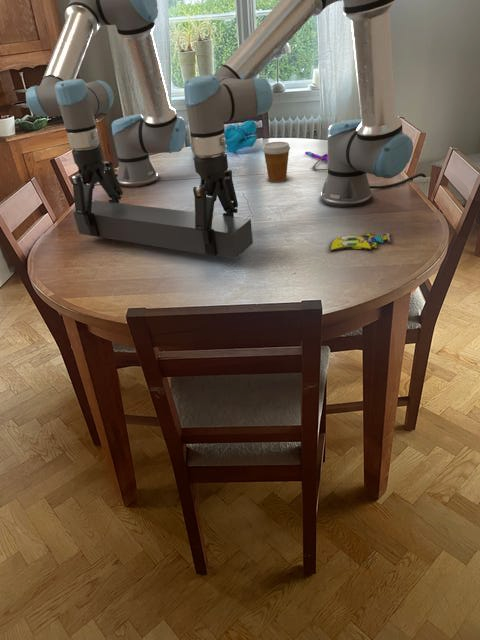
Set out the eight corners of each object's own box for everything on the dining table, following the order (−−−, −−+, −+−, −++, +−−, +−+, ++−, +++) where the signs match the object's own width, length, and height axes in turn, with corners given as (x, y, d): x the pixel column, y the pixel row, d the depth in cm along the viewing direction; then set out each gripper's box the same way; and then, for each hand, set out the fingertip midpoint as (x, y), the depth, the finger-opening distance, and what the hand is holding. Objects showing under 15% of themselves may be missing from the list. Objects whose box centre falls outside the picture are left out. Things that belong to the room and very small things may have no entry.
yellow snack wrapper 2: (393, 247, 116) (330, 248, 119) (393, 250, 117) (330, 251, 119) (388, 230, 125) (329, 232, 127) (387, 233, 125) (329, 235, 127)
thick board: (79, 233, 136) (72, 211, 132) (100, 221, 142) (95, 200, 138) (235, 259, 114) (233, 233, 110) (252, 243, 120) (250, 218, 116)
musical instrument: (342, 175, 173) (362, 153, 185) (341, 169, 172) (361, 148, 184) (283, 174, 186) (305, 153, 198) (282, 169, 184) (305, 148, 196)
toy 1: (195, 134, 218) (257, 114, 208) (203, 157, 223) (264, 139, 213) (184, 143, 204) (250, 123, 194) (193, 168, 209) (257, 149, 199)
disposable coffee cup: (260, 182, 170) (258, 147, 164) (269, 174, 177) (267, 141, 171) (286, 183, 167) (285, 148, 160) (294, 175, 174) (293, 141, 168)
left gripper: (65, 160, 114) (90, 246, 126) (124, 136, 129) (141, 215, 142) (43, 158, 117) (69, 242, 130) (103, 135, 132) (121, 212, 145)
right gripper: (198, 169, 98) (211, 267, 110) (247, 141, 113) (254, 230, 126) (168, 167, 101) (184, 262, 113) (219, 140, 116) (229, 227, 129)
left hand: (107, 228), depth 136 cm, fingers closed on thick board, 9 cm apart
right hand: (221, 245), depth 119 cm, fingers closed on thick board, 9 cm apart
